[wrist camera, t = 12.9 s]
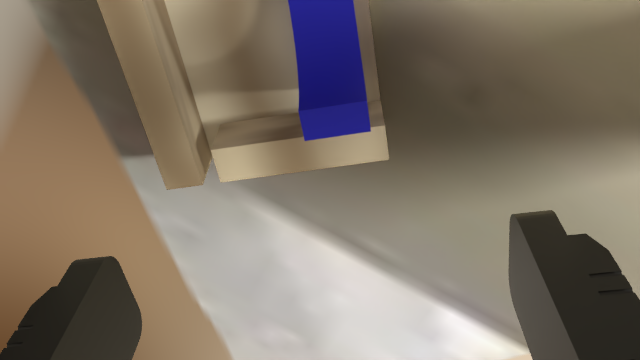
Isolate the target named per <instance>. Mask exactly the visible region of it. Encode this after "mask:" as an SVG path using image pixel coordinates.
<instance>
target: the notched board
mask: <svg viewBox="0 0 640 360" xmlns="http://www.w3.org/2000/svg"><path fill="white" fill-rule="evenodd" d="M97 2H98V5H99V8H100V10H101V13H102V16H103V19H104V21H105V24H106V27H107V29H108V32H109V35H110V38H111V40H112V43H113V46H114V48H115V51H116V54H117V56H118V59H119V62H120V65H121V67H122V70H123V73H124V75H125V78H126V81H127V83H128V86H129V89H130V92H131V94H132V97H133V100H134V102H135V105H136V108H137V110H138V113H139V116H140V119H141V121H142V124H143V127H144V129H145V132H146V135H147V137H148V140H149V143H150V146H151V148H152V151H153V154H154V156H155V159H156V162H157V165H158V167H159V170H160V173H161V175H162V178H163V181H164V183H165V186H166V189H167V190H169V189H176V188H184V187H191V186H199V185H203V183H204V180H205V177H206V174H207V171H208V169H209V166H210V163H211V160H212V157H213V159H214V162H215V165H216V169H217V172H218V175H219V178H220V182H228V181H235V180H243V179H250V178H258V177H265V176H272V175H280V174H287V173H295V172H302V171H309V170H317V169H324V168H331V167H339V166H346V165H354V164H361V163H368V162H376V161H383V160H389V154H388V146H387V137H386V129H385V122H384V116H383V111H382V105H381V99H380V91H379V82H378V74H377V66H376V58H375V50H374V41H373V33H372V25H371V17H370V8H369V0H353V2H354V9H355V16H356V23H357V30H358V37H359V44H360V51H361V58H362V65H363V72H364V79H365V87H366V95H367V103H368V111H369V119H370V127H371V132H364V133H357V134H350V135H343V136H337V137H330V138H323V139H316V140H309V141H305V140H304V136H303V131H302V126H301V122H300V117H299V112H298V108H299V84H298V70H297V59H296V50H295V42H294V35H293V28H292V22H291V15H290V9H289V3H288V0H97Z"/></svg>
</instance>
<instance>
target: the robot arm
mask: <svg viewBox="0 0 640 360" xmlns="http://www.w3.org/2000/svg"><path fill="white" fill-rule="evenodd" d="M509 286H510V292H511V297H512V302H513V305H514V308H515V311H516V314H517V317H518V320H519V322H520V325H521V328H522V331H523V334H524V336H525V339H526V342H527V345H528V348H529V350H530V353H531V356H532V359H533V360H640V300H639V298H638V297H637V295H636V294H635V293H633V291H632V287H631V285H630V284H629V282H628V281H627V279H626V277H625V276H624V275H622V273H621V269H620V268H619V266H618V265H617V263H616V261H615V260H614V258H613V257H612V255H611V253H610V252H609V250H607V249H606V248H605V247H603V246H602V245H601V244H599V243H598V242H597V241H595V240H594V239H592V238H591V237H590V236H588V235H587V234H577V235H567V234H566V232H565V230H564V228H563V227H562V225H561V223H560V221H559V219H558V217H557V216H556V214H555V212H554V211H552V210H548V211H539V212H529V213H520V214H512V215H511V218H510V233H509ZM141 330H142V320H141V313H140V309H139V307H138V304H137V302H136V300H135V298H134V295H133V293H132V292H131V289H130V287H129V284H128V282H127V280H126V278H125V275H124V273H123V271H122V269H121V266H120V264H119V262H118V261H117V260H116V259H115V258H114V257H112V256H109V257H98V258H89V259H80V260H75V261H74V262H72V263H71V265H70V266H69V268H68V270H67V272H66V273H65V275H64V276H63V278H62V279H61V281H60V283H59V284H58V286H55V287H51V288H50V289H49V290H48V291H47V292H46V293H45V294H44V295H43V296H41V297H40V298H39V299H38V300H37V301H36V302H35V303H34V304H32V306H31V307H30V308H29V310H28V311H27V313H26V315H25V316H24V318H23V319H22V321H21V322H20V324H19V326H18V331H15V332H14V333H13V335H12V336H11V338H10V339H9V341H8V343H7V348H4V349H3V350H2V352H1V354H0V360H132V358H133V355H134V352H135V350H136V347H137V345H138V342H139V339H140V336H141Z"/></svg>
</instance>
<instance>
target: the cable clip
mask: <svg viewBox="0 0 640 360" xmlns="http://www.w3.org/2000/svg"><path fill="white" fill-rule="evenodd" d="M288 3H289V9H290V15H291V22H292V28H293V35H294V42H295V50H296V59H297V70H298V84H299V108H298V112H299V117H300V122H301V126H302V131H303V136H304V140H305V141H309V140H316V139H323V138H330V137H337V136H343V135H350V134H357V133H364V132H371V127H370V119H369V111H368V103H367V95H366V87H365V79H364V72H363V65H362V58H361V51H360V44H359V37H358V30H357V23H356V16H355V9H354V2H353V0H288Z"/></svg>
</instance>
